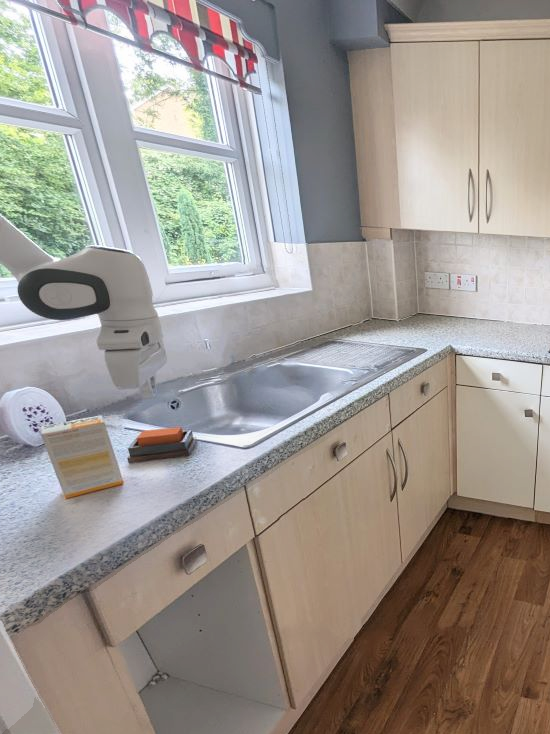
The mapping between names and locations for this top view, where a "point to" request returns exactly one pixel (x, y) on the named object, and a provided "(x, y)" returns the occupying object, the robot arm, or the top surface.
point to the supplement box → (81, 455)
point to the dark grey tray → (162, 449)
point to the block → (160, 436)
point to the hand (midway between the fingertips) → (150, 396)
